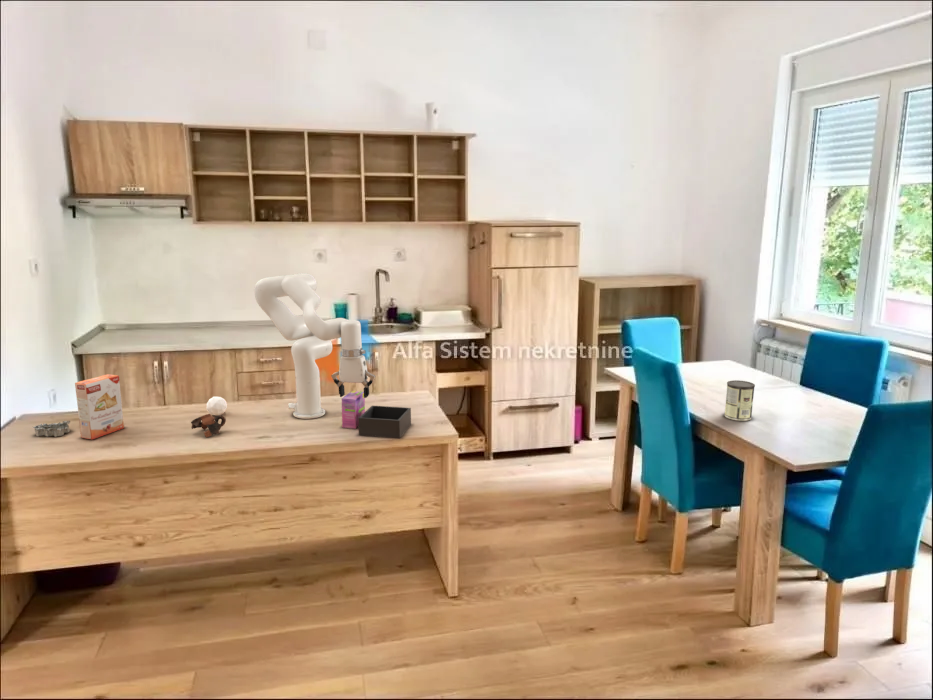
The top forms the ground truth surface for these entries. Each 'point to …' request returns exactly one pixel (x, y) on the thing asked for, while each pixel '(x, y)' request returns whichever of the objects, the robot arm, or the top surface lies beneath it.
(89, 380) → the cracker box
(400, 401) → the top surface
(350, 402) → the box
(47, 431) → the egg carton
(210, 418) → the pottery mug
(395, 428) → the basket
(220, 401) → the ball
